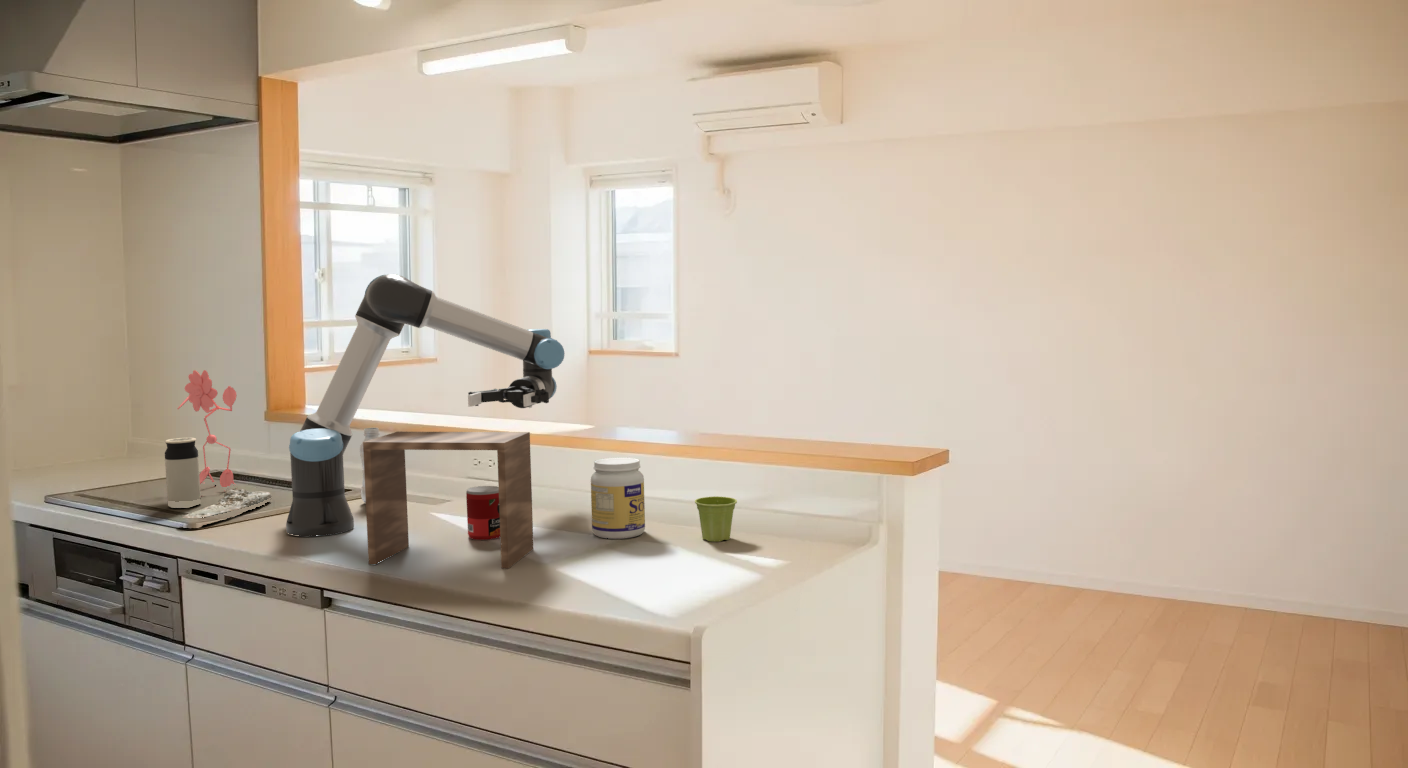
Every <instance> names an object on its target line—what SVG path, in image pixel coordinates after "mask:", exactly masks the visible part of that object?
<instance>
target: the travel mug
mask: <svg viewBox="0 0 1408 768" xmlns="http://www.w3.org/2000/svg"><path fill="white" fill-rule="evenodd" d="M196 441H197V438H195V437H177V438H176V437H175V438H169V439H166V440H165V441H164V442H165V444H166V447H167V448H166V450H165V451H164V463H165V464H164V466H165V480H166V496H167V502H168V501H175V502H179V501H193V500H197V499H200V498H201V496H202V495H201V494H202V493H201V484H200V477H199V474H200V463H199V450H198V448H197V446H195V445H196ZM201 499H202V498H201Z"/></svg>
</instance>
